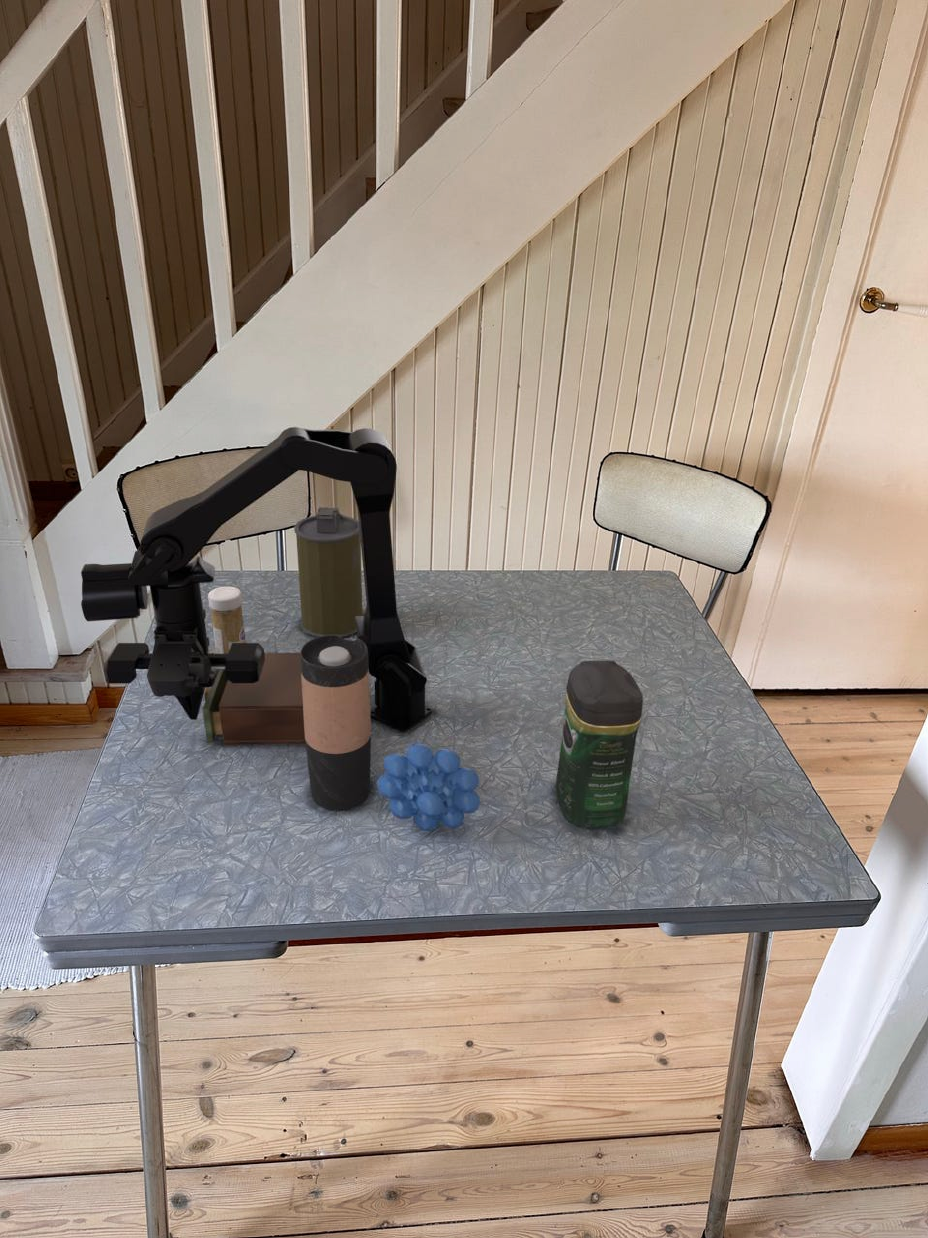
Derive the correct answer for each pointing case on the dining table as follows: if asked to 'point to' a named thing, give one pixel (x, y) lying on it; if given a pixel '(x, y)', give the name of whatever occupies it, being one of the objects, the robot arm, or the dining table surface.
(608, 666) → the coffee jar
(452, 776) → the blue knobby toy
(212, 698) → the drawer
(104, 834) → the dining table surface
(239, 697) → the drawer unit
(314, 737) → the travel mug
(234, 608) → the sprinkles bottle
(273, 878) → the dining table surface
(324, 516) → the canister
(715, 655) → the dining table surface
